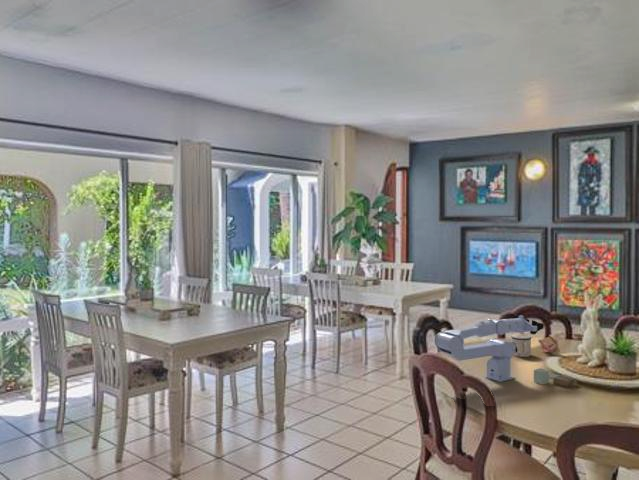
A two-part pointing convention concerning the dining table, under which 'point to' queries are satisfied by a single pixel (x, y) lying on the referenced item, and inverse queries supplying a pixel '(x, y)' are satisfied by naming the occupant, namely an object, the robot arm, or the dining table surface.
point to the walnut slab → (565, 381)
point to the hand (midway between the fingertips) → (535, 324)
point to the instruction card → (553, 375)
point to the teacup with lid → (522, 344)
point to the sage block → (541, 376)
